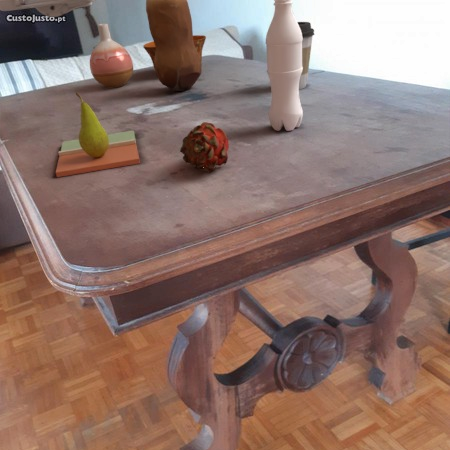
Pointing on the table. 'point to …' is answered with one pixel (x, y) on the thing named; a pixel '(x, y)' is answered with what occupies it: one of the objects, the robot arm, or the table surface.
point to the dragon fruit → (205, 147)
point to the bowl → (197, 41)
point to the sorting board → (114, 157)
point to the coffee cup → (305, 51)
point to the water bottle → (284, 67)
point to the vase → (110, 61)
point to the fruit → (92, 132)
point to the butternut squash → (173, 43)
